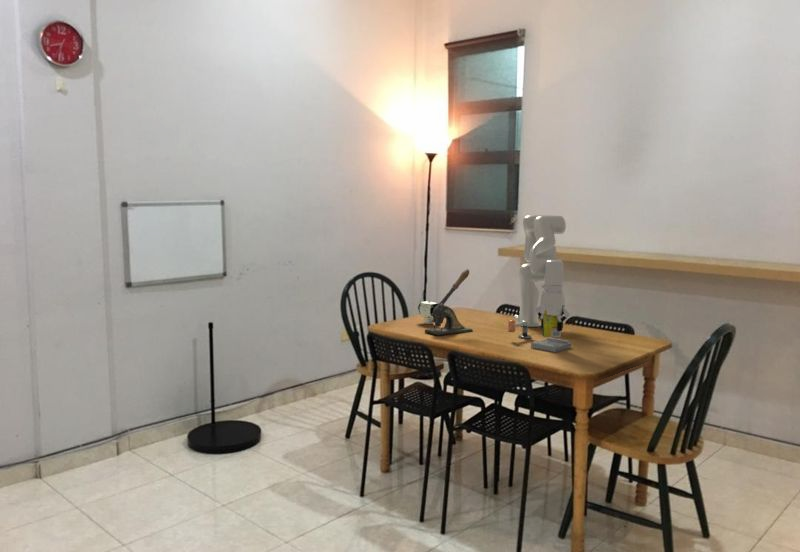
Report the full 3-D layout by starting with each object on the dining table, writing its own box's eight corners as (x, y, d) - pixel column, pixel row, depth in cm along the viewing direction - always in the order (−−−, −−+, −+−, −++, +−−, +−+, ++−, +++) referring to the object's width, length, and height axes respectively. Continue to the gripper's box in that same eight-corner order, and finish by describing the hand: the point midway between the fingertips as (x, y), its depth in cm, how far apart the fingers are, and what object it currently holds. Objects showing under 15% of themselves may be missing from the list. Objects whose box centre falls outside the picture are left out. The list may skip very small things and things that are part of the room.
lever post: (515, 337, 305) (516, 325, 304) (522, 335, 309) (523, 324, 308) (526, 339, 301) (527, 327, 300) (533, 337, 305) (534, 325, 304)
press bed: (530, 347, 283) (531, 341, 283) (546, 343, 293) (547, 336, 292) (555, 352, 275) (555, 345, 275) (571, 347, 284) (571, 341, 284)
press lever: (505, 331, 297) (505, 320, 296) (523, 327, 307) (524, 316, 307) (513, 332, 294) (514, 321, 293) (531, 328, 304) (532, 317, 304)
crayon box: (559, 336, 285) (560, 309, 283) (560, 337, 282) (562, 310, 280) (542, 335, 285) (543, 309, 283) (543, 337, 282) (544, 310, 281)
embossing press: (423, 332, 314) (424, 270, 310) (461, 327, 327) (463, 268, 323) (436, 336, 304) (437, 272, 301) (475, 331, 317) (477, 270, 314)
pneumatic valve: (423, 321, 342) (424, 298, 340) (440, 324, 333) (440, 301, 332) (416, 322, 338) (416, 299, 337) (432, 326, 330) (432, 302, 328)
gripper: (531, 287, 284) (529, 327, 286) (566, 291, 272) (565, 333, 274) (540, 286, 290) (539, 325, 292) (576, 290, 278) (574, 331, 280)
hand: (551, 329), depth 283 cm, fingers closed on crayon box, 7 cm apart
